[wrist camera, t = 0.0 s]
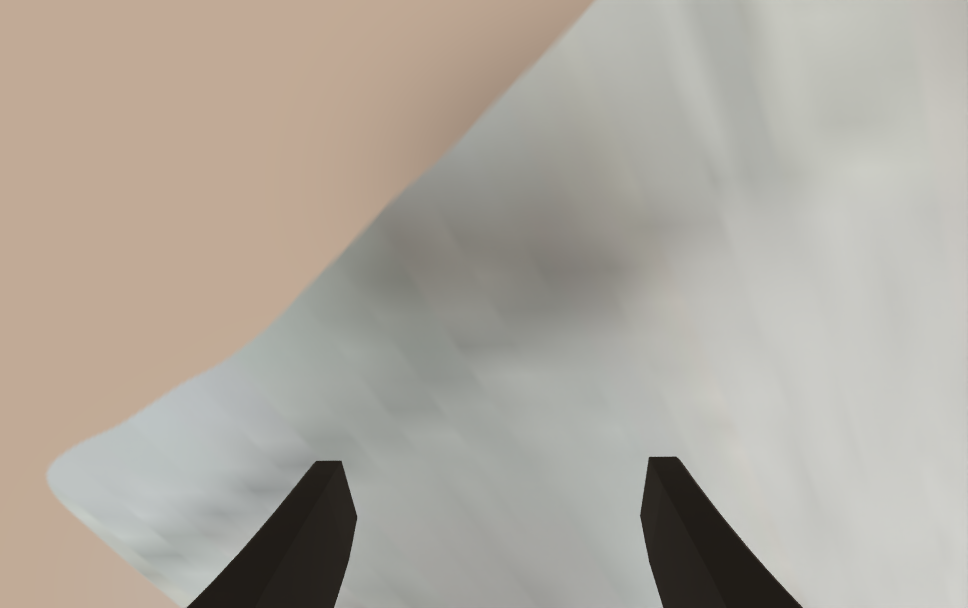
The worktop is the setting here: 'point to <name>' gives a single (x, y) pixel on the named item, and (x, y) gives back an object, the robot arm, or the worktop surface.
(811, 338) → the worktop surface
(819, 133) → the worktop surface
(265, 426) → the worktop surface
